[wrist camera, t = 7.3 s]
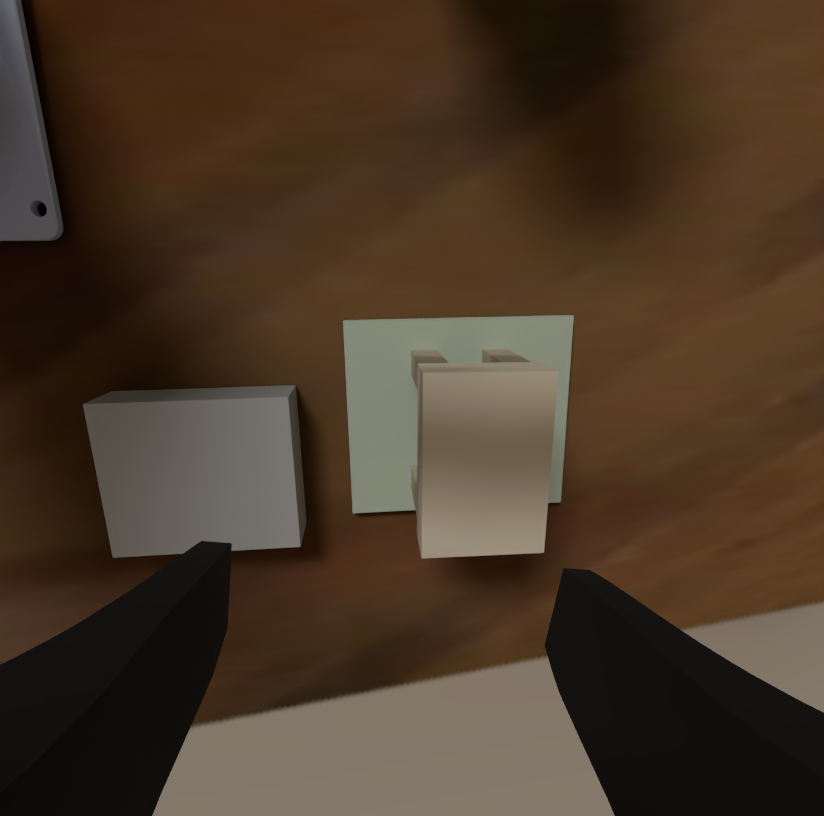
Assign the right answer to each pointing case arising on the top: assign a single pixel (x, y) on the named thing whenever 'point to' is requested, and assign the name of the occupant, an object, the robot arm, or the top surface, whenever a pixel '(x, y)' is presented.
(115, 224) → the top surface
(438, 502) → the beige toy stool
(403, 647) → the top surface
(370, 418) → the mat
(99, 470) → the step
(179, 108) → the top surface
